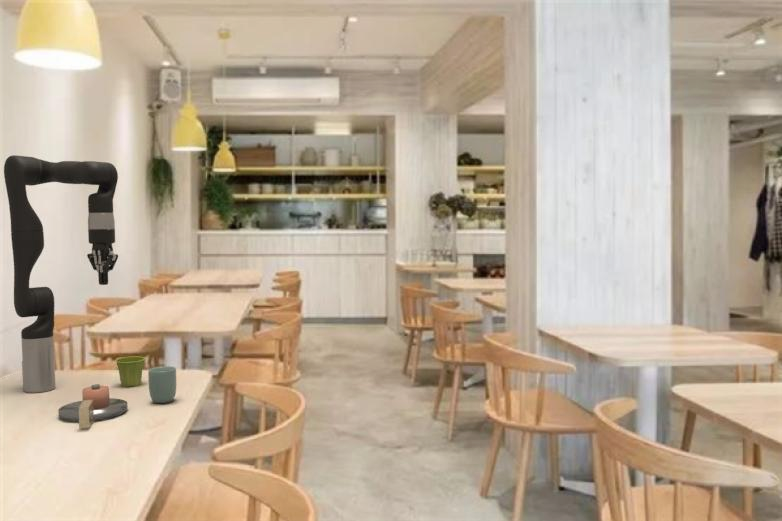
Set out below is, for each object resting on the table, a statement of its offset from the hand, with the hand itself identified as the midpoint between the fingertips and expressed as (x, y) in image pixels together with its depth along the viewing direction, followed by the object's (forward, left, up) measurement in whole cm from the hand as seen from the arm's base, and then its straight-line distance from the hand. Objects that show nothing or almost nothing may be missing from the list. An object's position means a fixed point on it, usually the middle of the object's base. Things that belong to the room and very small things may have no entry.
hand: (103, 284), depth 215 cm
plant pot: (-8, +14, -35) cm, 39 cm away
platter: (+16, -15, -35) cm, 41 cm away
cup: (+19, +6, -35) cm, 40 cm away
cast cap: (+13, -12, -33) cm, 38 cm away
